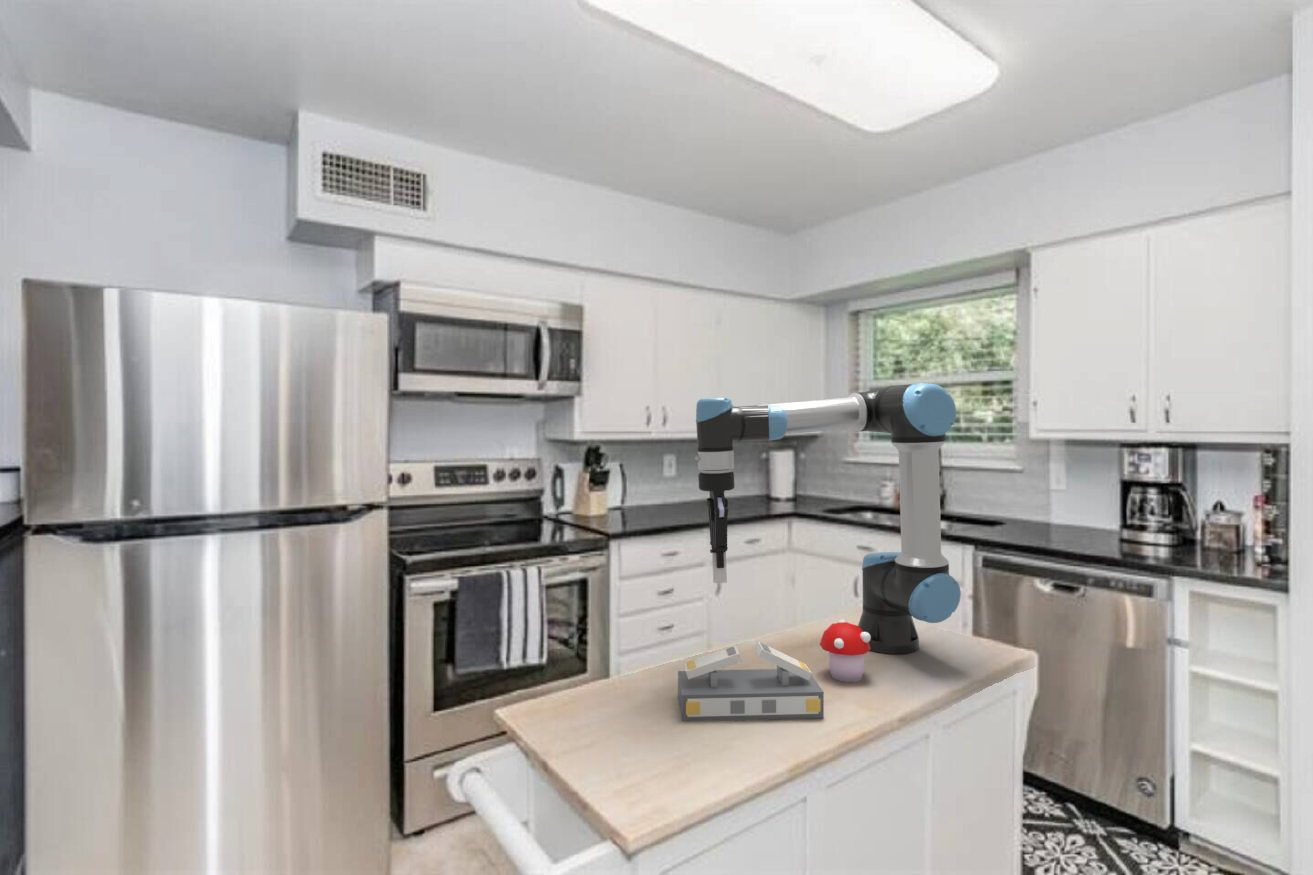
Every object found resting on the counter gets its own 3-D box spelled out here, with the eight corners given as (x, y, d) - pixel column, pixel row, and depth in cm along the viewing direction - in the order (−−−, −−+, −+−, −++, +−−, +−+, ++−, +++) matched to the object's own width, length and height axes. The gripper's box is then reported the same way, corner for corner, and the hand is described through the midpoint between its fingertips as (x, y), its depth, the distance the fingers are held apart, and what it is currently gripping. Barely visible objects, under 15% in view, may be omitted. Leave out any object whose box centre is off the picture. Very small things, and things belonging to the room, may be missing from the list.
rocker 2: (802, 671, 135) (806, 663, 135) (808, 680, 130) (812, 672, 130) (754, 648, 135) (757, 640, 135) (758, 656, 130) (762, 648, 130)
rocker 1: (738, 652, 135) (735, 644, 135) (741, 661, 130) (739, 652, 130) (686, 669, 134) (683, 661, 134) (688, 679, 130) (685, 670, 130)
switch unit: (807, 691, 139) (807, 655, 139) (824, 718, 127) (824, 678, 127) (678, 694, 138) (677, 657, 138) (682, 722, 126) (682, 681, 126)
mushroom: (870, 688, 141) (870, 632, 140) (817, 682, 144) (817, 627, 144) (871, 670, 151) (871, 617, 150) (821, 664, 154) (821, 613, 154)
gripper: (694, 469, 147) (698, 575, 148) (702, 474, 134) (706, 590, 135) (728, 467, 147) (732, 573, 148) (739, 473, 134) (743, 589, 135)
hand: (719, 581), depth 142 cm, fingers closed
